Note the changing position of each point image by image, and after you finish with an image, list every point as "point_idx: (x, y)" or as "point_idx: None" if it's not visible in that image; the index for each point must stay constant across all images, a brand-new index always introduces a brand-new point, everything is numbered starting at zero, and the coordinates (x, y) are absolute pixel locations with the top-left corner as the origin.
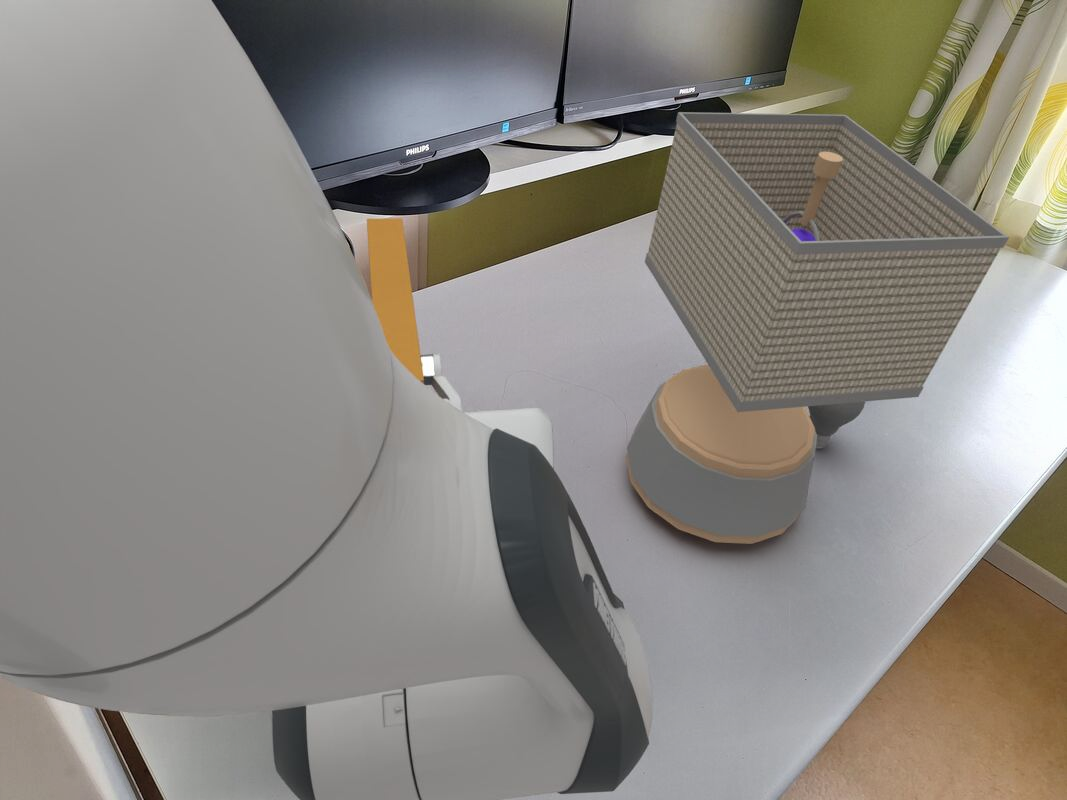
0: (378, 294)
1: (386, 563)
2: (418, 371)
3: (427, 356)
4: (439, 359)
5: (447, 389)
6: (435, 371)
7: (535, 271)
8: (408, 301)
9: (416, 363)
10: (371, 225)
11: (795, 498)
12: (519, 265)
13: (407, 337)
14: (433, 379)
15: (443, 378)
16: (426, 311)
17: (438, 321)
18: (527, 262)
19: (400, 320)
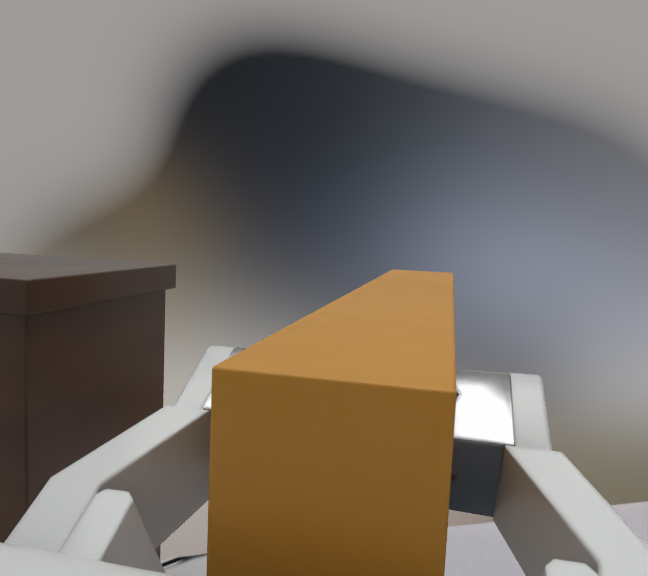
0: (368, 291)
1: None
2: (433, 370)
3: (484, 371)
4: (537, 388)
5: (583, 515)
6: (517, 426)
7: (645, 521)
8: (440, 300)
9: (430, 355)
10: (396, 271)
11: None
12: (618, 510)
13: (416, 324)
14: (505, 466)
15: (558, 460)
16: (480, 542)
17: (497, 558)
18: (629, 508)
19: (406, 309)
